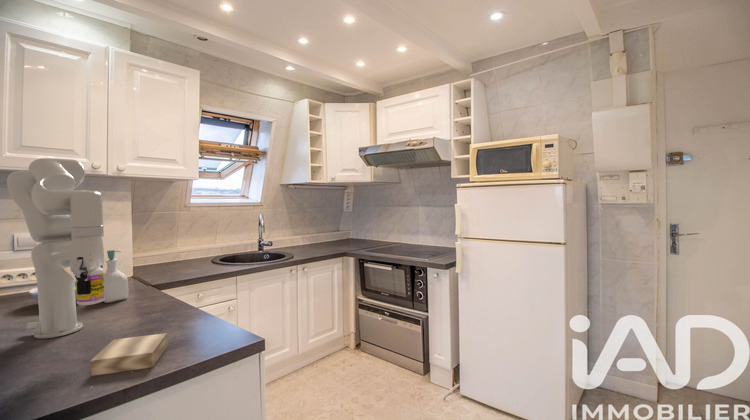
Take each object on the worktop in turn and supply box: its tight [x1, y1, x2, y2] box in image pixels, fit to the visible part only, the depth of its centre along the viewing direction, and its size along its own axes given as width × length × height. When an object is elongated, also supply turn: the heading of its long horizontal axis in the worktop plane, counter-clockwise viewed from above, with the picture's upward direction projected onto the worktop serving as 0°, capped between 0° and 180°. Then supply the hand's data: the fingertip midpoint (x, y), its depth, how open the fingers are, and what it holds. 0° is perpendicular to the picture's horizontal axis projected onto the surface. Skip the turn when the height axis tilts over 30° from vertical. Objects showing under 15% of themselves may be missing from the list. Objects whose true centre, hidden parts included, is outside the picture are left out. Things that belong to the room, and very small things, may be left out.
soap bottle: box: [102, 249, 129, 304], centre depth 158 cm, size 10×10×23 cm
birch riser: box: [90, 332, 169, 377], centre depth 99 cm, size 14×14×4 cm
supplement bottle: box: [76, 260, 105, 306], centre depth 106 cm, size 7×7×13 cm
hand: (90, 290), depth 106 cm, fingers closed on supplement bottle, 6 cm apart
